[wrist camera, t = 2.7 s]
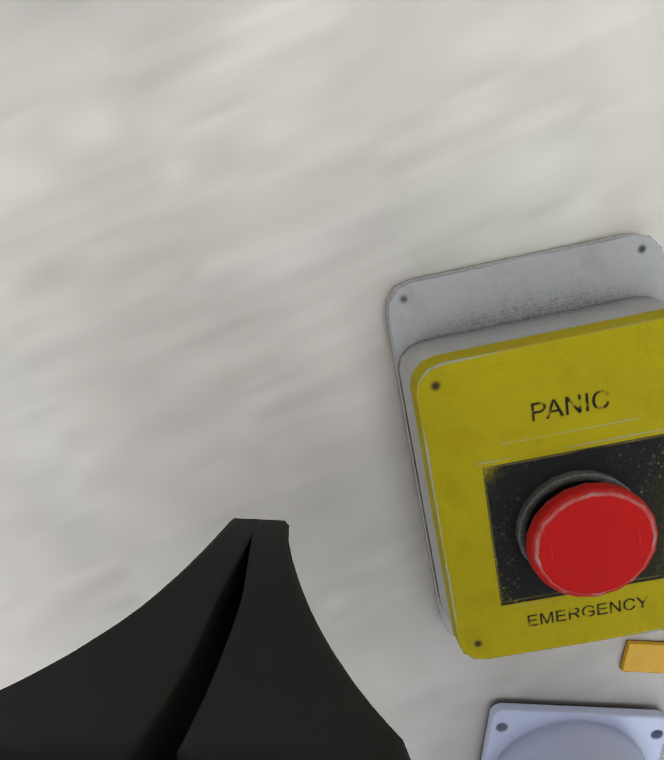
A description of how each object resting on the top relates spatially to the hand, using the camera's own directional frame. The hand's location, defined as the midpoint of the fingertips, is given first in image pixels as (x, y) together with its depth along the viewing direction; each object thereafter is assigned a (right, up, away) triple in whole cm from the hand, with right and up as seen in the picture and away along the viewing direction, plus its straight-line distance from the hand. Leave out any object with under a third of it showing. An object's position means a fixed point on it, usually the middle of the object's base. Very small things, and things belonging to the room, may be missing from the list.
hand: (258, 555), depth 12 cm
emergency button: (+9, +1, +7) cm, 12 cm away
